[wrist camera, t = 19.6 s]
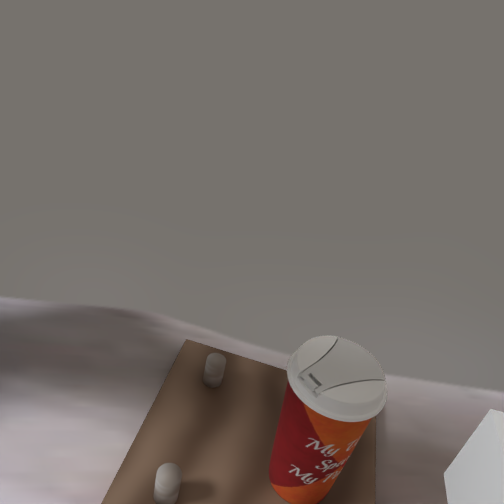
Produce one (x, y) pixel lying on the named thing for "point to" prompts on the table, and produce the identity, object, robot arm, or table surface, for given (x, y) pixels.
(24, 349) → the table surface
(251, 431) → the peg holder
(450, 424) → the table surface
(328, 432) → the paper cup
